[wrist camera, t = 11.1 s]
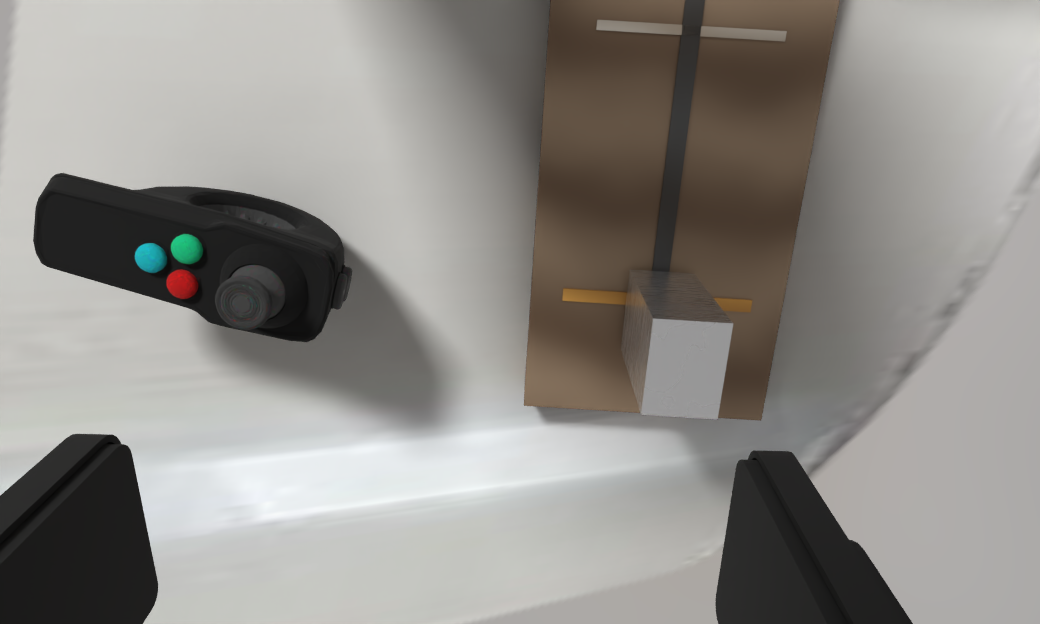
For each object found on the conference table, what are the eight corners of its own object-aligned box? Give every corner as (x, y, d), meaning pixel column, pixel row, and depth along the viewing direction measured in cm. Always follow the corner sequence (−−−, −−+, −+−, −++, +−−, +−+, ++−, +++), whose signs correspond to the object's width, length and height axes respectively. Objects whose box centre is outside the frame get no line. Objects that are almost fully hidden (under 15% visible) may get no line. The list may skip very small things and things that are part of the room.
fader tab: (629, 269, 33) (653, 318, 26) (693, 273, 33) (733, 323, 26) (620, 348, 34) (640, 414, 28) (682, 352, 34) (717, 419, 28)
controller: (365, 296, 36) (305, 376, 27) (124, 231, 35) (-26, 289, 26) (383, 216, 35) (326, 270, 25) (133, 146, 34) (-22, 174, 25)
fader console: (555, -75, 31) (556, -85, 29) (832, -58, 31) (853, -67, 29) (524, 388, 38) (523, 406, 36) (749, 402, 38) (761, 421, 36)
